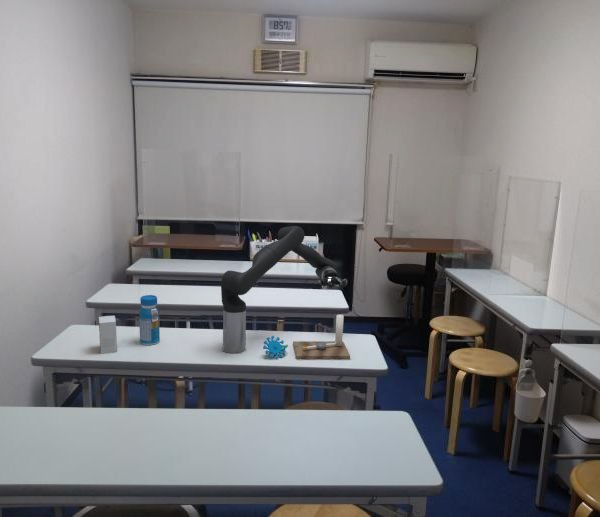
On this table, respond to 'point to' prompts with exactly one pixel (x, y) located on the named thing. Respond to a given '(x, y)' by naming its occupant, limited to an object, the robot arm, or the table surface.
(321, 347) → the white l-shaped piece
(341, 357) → the wooden cutting board
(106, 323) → the small box
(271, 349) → the blue spiky ball
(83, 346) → the table surface
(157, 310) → the beverage bottle
